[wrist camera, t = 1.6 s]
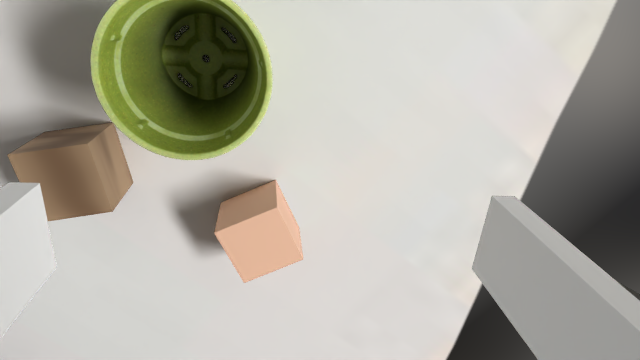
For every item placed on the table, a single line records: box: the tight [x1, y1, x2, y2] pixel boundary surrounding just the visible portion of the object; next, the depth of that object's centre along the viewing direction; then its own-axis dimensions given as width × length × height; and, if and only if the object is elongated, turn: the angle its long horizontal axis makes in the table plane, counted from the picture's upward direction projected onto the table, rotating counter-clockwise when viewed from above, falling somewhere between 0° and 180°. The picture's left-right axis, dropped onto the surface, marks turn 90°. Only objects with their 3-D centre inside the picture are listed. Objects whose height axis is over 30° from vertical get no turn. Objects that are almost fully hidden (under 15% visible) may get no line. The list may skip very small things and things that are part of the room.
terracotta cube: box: [214, 180, 303, 283], centre depth 33 cm, size 5×5×5 cm
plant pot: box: [90, 0, 273, 160], centre depth 26 cm, size 9×9×9 cm
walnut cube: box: [7, 123, 133, 221], centre depth 30 cm, size 5×5×5 cm
